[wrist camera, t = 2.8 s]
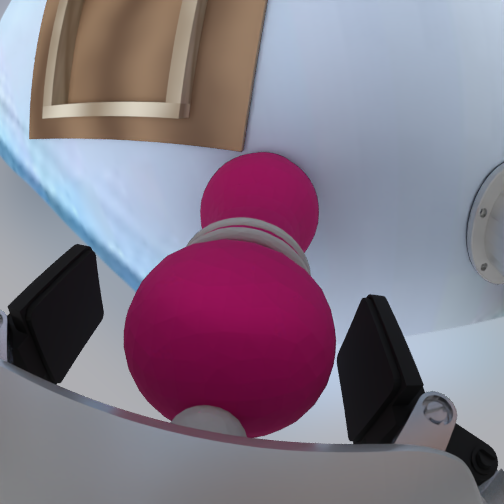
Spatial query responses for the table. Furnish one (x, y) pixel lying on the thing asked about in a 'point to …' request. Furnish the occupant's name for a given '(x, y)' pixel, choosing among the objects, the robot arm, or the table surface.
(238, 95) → the stand
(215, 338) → the pepper mill
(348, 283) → the table surface
